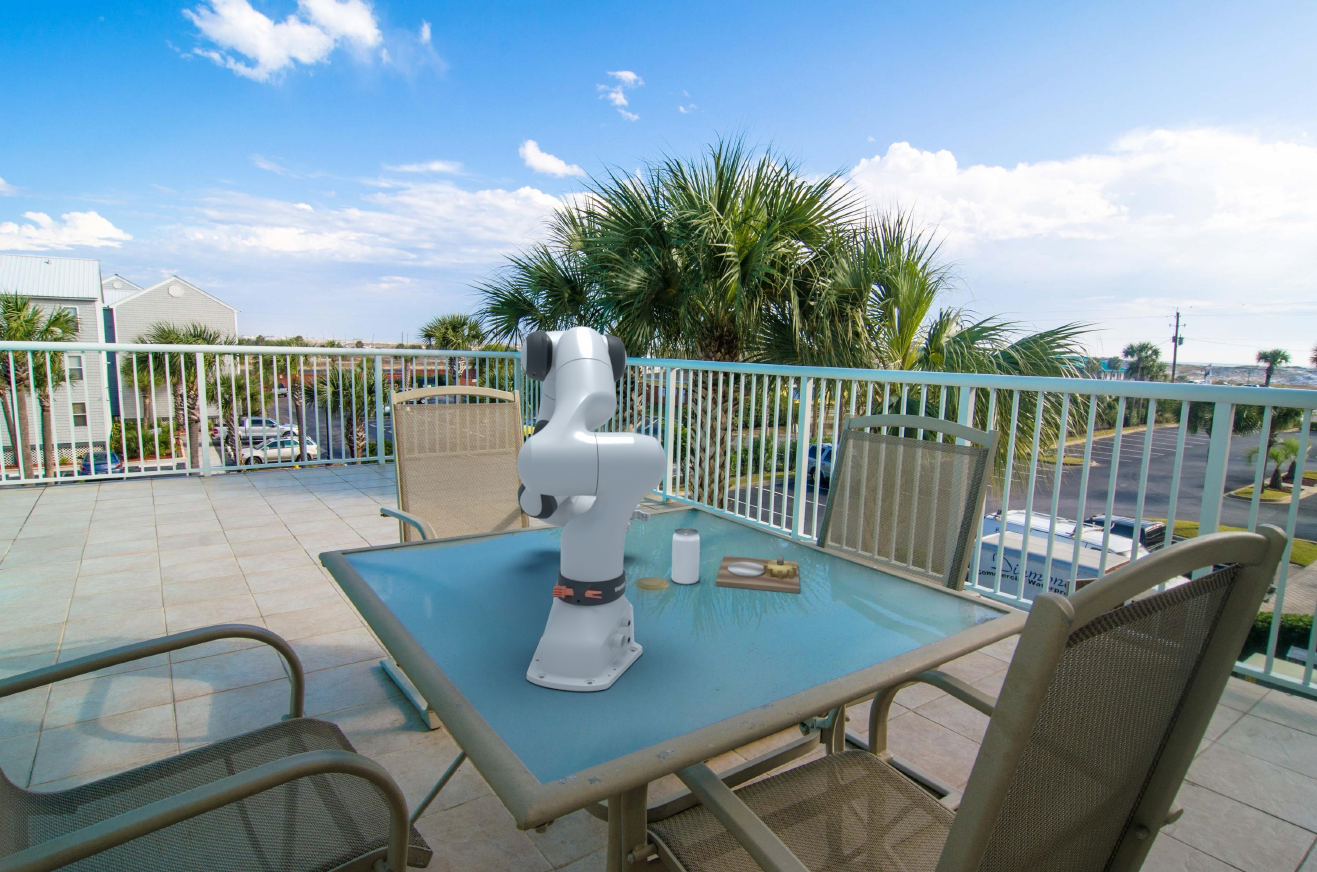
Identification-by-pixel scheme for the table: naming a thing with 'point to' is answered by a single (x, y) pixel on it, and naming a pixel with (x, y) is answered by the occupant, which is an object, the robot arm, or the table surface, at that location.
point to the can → (685, 556)
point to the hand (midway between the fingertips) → (640, 521)
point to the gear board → (759, 574)
